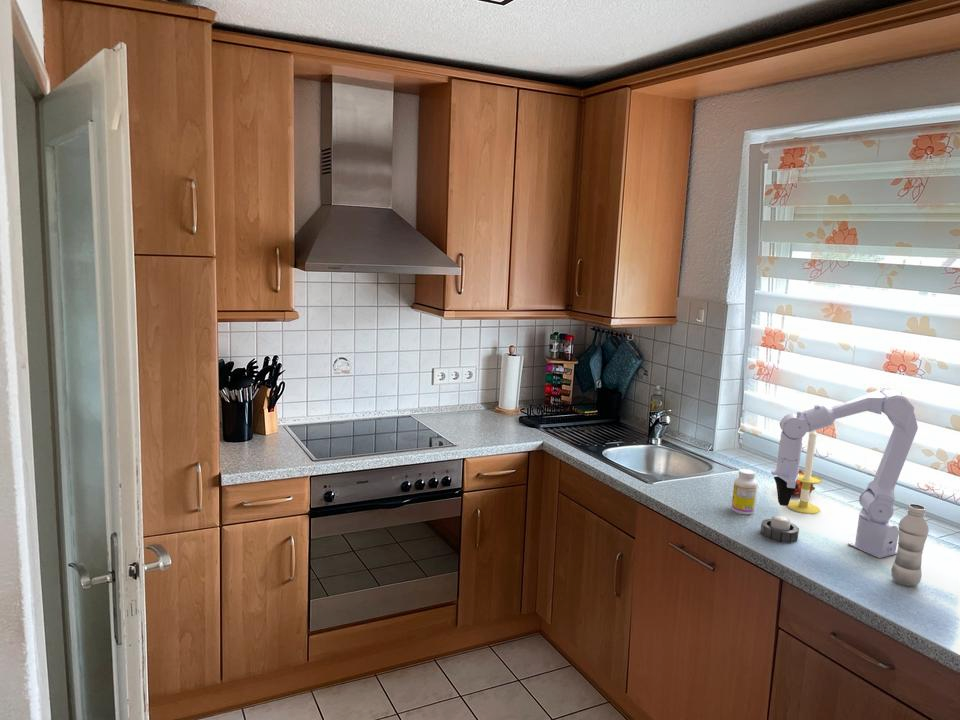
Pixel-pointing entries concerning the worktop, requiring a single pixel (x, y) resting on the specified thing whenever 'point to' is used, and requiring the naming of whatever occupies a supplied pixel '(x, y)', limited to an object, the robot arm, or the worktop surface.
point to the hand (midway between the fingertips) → (782, 504)
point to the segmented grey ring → (779, 532)
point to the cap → (780, 523)
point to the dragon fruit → (798, 490)
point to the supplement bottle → (744, 492)
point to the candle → (807, 481)
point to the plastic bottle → (910, 547)
